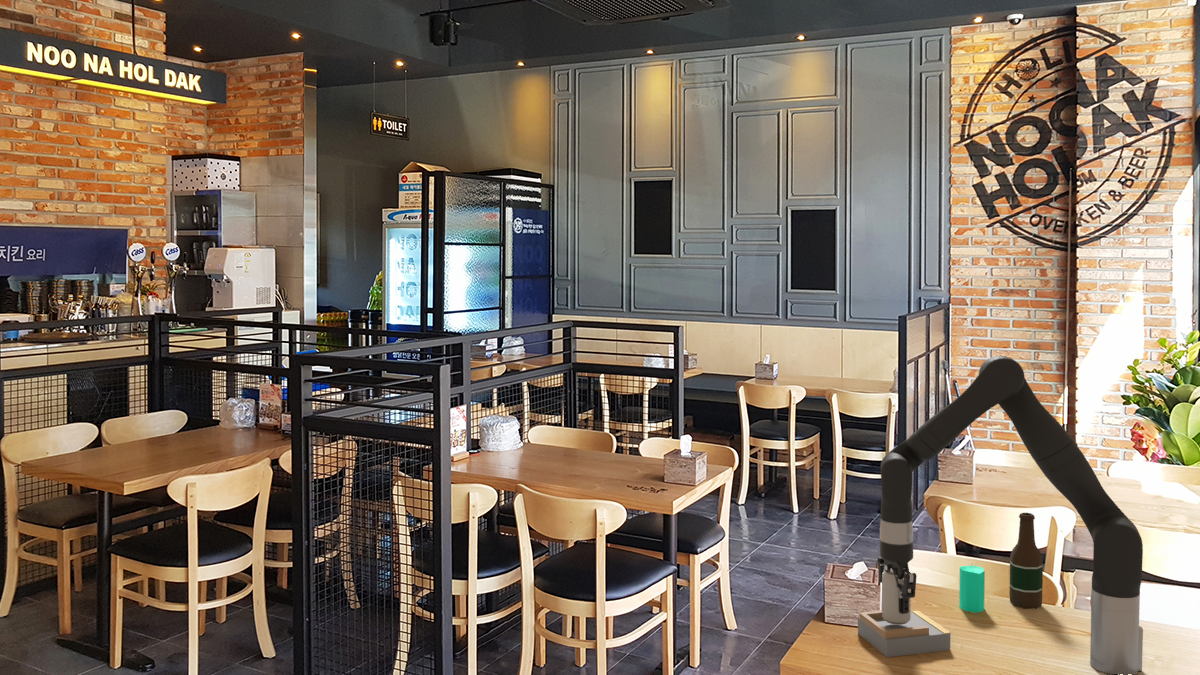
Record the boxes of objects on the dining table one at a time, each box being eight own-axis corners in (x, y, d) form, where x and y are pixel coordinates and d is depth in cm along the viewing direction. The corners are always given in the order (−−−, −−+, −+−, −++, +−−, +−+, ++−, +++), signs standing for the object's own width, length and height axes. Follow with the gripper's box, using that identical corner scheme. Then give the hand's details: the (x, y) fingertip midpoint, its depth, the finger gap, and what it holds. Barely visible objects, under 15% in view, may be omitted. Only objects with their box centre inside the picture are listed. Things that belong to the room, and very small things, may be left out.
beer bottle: (1008, 606, 240) (1009, 516, 239) (1010, 597, 247) (1011, 508, 245) (1041, 611, 237) (1042, 519, 235) (1042, 601, 244) (1044, 511, 242)
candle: (960, 611, 238) (960, 565, 237) (958, 603, 244) (958, 558, 243) (985, 613, 236) (985, 567, 235) (983, 605, 242) (983, 560, 241)
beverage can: (912, 626, 215) (912, 576, 214) (883, 625, 217) (883, 574, 216) (908, 616, 222) (908, 567, 221) (880, 615, 223) (880, 566, 222)
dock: (917, 627, 228) (918, 605, 228) (950, 650, 215) (950, 626, 214) (857, 633, 225) (857, 611, 225) (886, 657, 211) (887, 633, 211)
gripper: (927, 545, 211) (927, 617, 212) (895, 528, 225) (895, 596, 227) (897, 548, 210) (897, 621, 211) (866, 531, 224) (867, 599, 225)
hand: (896, 607), depth 219 cm, fingers closed on beverage can, 6 cm apart
